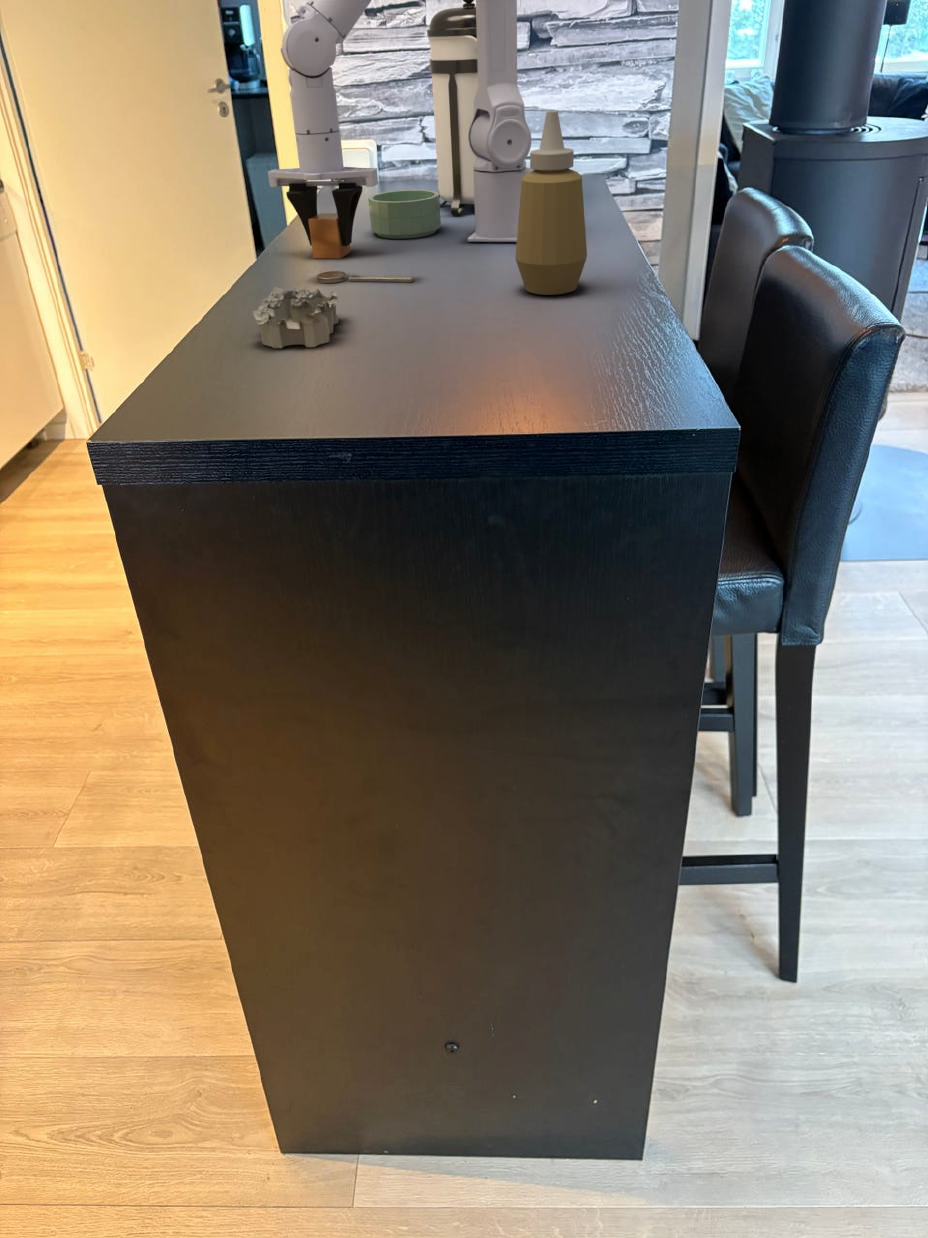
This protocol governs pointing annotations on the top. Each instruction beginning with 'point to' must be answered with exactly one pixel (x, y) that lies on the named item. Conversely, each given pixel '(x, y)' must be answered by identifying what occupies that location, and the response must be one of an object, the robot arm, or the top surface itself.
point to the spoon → (359, 278)
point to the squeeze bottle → (551, 217)
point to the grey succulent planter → (296, 317)
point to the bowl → (405, 213)
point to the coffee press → (454, 101)
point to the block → (326, 237)
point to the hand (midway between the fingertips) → (330, 244)
